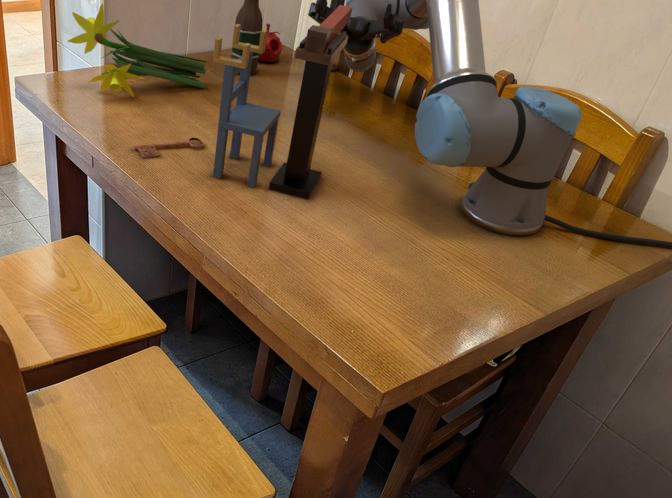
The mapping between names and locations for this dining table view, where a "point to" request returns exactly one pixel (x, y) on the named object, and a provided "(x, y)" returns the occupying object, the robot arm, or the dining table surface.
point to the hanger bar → (327, 30)
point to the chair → (242, 109)
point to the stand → (307, 121)
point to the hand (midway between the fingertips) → (353, 4)
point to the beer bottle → (249, 29)
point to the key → (153, 146)
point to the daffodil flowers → (135, 58)
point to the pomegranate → (271, 47)
